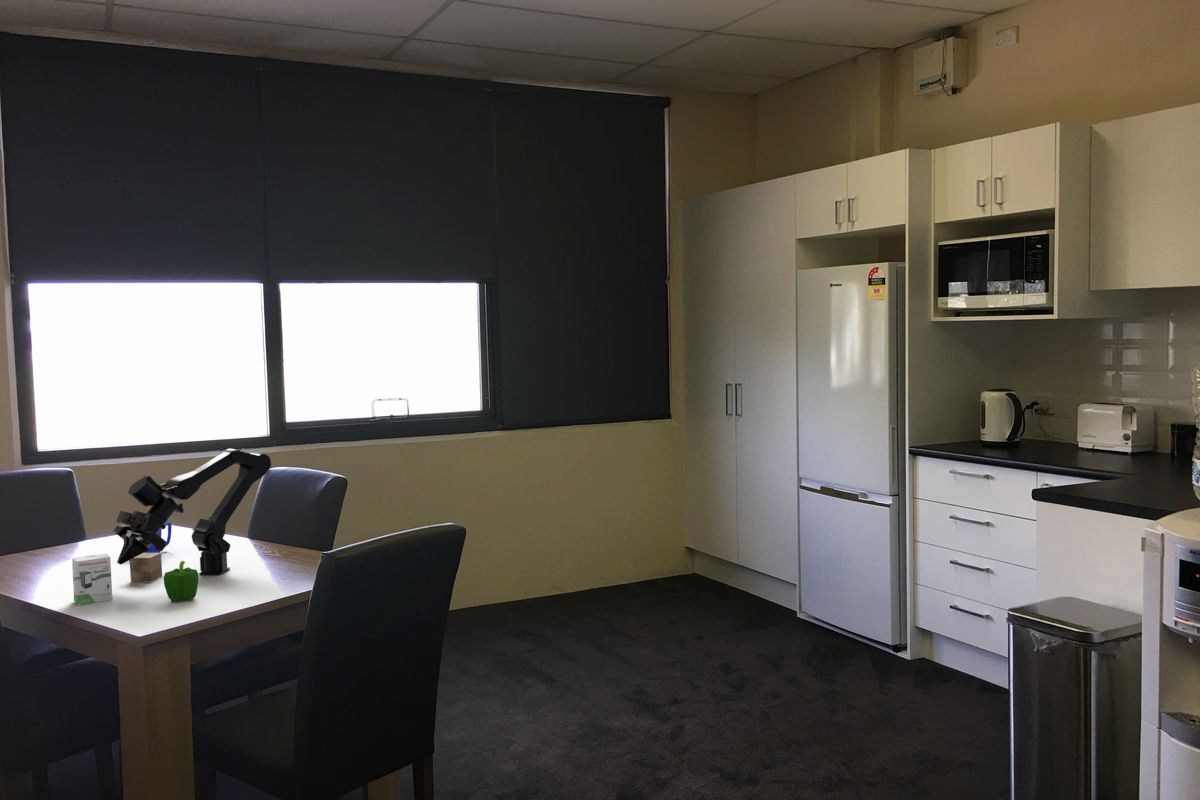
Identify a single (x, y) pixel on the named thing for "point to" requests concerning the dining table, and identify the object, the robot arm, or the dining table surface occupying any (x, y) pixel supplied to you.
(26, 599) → the dining table surface
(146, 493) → the robot arm
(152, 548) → the mug
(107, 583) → the ink box
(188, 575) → the bell pepper
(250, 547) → the dining table surface
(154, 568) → the walnut block
